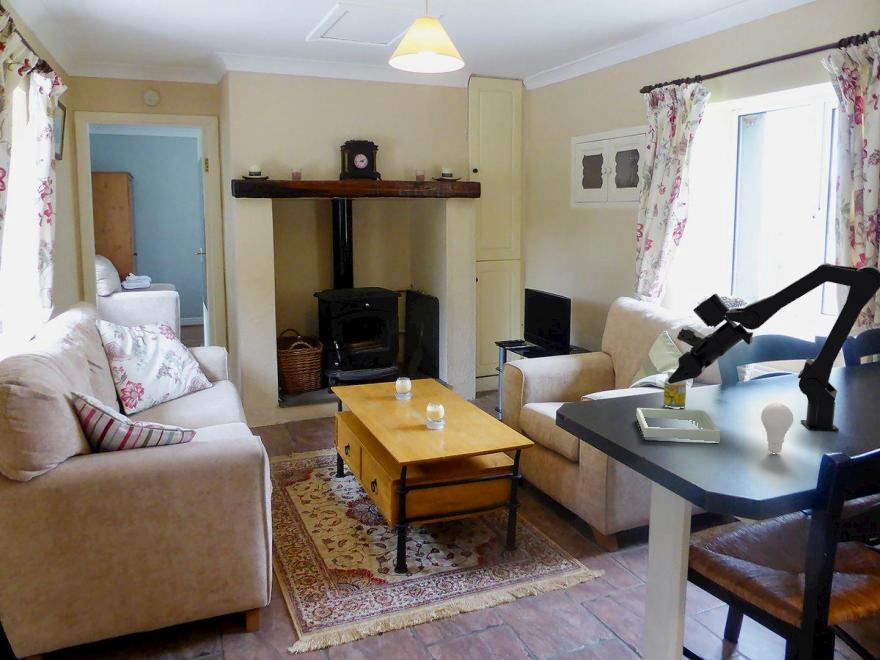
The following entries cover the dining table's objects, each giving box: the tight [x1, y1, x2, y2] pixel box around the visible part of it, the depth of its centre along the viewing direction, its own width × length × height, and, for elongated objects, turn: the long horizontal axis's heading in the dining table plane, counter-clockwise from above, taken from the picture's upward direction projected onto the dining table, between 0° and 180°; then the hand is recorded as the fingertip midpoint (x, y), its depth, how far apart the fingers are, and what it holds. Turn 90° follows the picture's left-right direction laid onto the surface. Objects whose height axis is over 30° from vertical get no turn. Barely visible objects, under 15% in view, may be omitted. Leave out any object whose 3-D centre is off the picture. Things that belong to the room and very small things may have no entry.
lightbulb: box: [760, 402, 794, 454], centre depth 149 cm, size 6×6×11 cm
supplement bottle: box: [663, 369, 687, 408], centre depth 185 cm, size 5×5×10 cm
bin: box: [636, 407, 721, 443], centre depth 165 cm, size 16×16×3 cm
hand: (673, 378), depth 185 cm, fingers open, 9 cm apart
